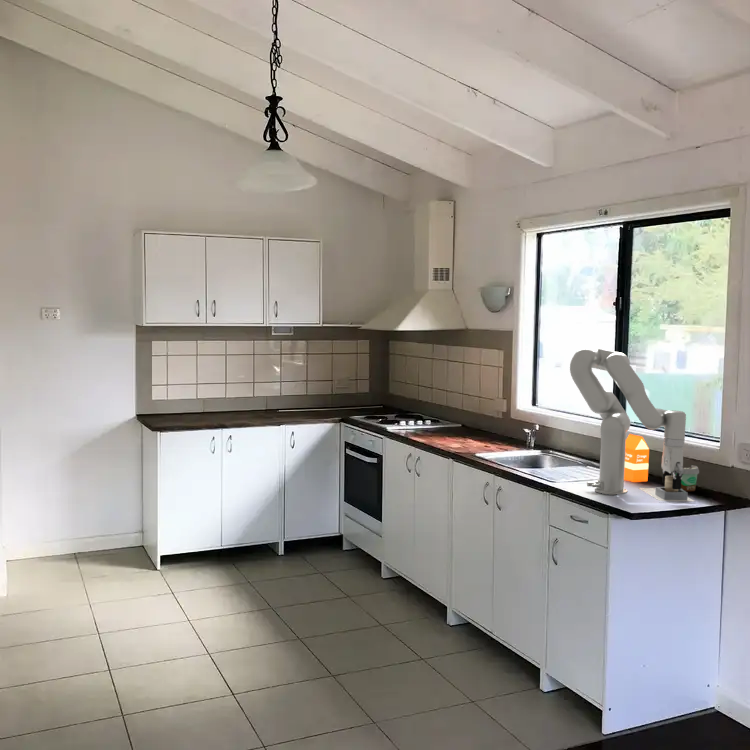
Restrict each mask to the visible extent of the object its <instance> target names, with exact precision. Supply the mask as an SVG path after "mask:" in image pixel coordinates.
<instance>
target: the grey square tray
mask: <svg viewBox="0 0 750 750" xmlns="http://www.w3.org/2000/svg"><path fill="white" fill-rule="evenodd" d="M655 488H656V491H655V495H657V496H659V497H660V498H662V499H664V500H687V497H689V496H688V494H689V493H688V492H689V491H684V490H682V489H678V492H666V491H665V486H656V487H655Z"/></svg>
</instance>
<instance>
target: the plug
mask: <svg viewBox="0 0 750 750" xmlns="http://www.w3.org/2000/svg"><path fill="white" fill-rule="evenodd" d="M673 479H674V476H673V475H671V476H665V484H664V487H665V491H666V492H678V489H672V484H673Z"/></svg>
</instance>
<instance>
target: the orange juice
mask: <svg viewBox="0 0 750 750" xmlns="http://www.w3.org/2000/svg"><path fill="white" fill-rule="evenodd" d="M649 459H650V448H649V446H648V444H647V442H646V440H645V439H644V437H643V436H641V435H637V434H632V433H629V434H628V436H627V438H626V449H625V470H624V481H628V482H631V483H641V482H648V477H649Z"/></svg>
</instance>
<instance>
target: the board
mask: <svg viewBox="0 0 750 750" xmlns="http://www.w3.org/2000/svg"><path fill="white" fill-rule="evenodd" d="M638 489H639V490H641V491H642V492H644V493H645V494H647V495H649V496H651V497H652V498H653V499H656V500H657V501H660V502H695V500H694V499H692V498H691V497H689V496H688V497H687V500H664V499H662V498H660V497H659V496H657V495H655V491H656V487H655V488H652V487H649V488H648V487H639V488H638Z"/></svg>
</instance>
